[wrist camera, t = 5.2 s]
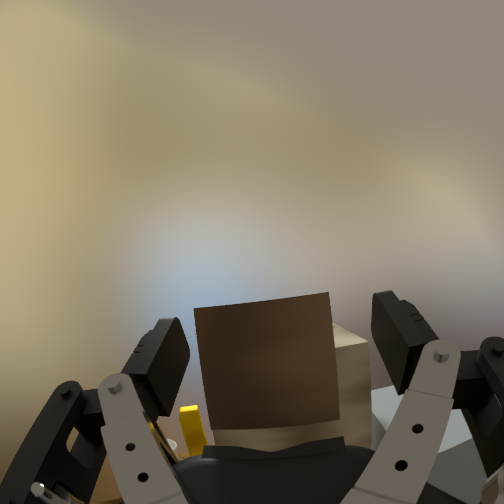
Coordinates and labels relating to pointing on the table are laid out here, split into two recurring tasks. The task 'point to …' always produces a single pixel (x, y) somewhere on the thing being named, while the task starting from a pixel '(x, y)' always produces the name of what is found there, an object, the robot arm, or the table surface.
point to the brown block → (268, 363)
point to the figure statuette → (192, 429)
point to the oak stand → (350, 404)
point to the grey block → (450, 452)
